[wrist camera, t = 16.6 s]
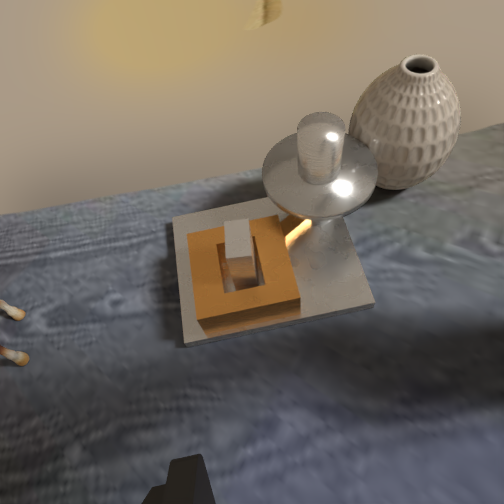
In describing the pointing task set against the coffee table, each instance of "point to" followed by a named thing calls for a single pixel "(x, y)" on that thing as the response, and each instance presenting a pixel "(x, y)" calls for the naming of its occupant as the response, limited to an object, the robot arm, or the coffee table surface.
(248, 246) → the grey rectangular peg
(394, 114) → the vase
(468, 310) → the coffee table surface
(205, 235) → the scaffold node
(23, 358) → the horse figurine
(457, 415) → the coffee table surface
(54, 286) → the coffee table surface
